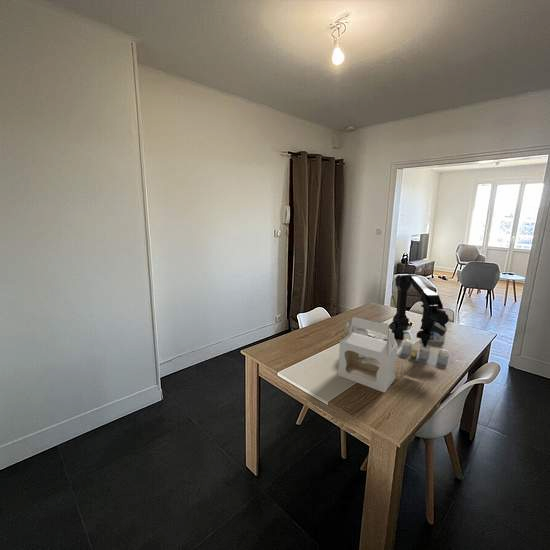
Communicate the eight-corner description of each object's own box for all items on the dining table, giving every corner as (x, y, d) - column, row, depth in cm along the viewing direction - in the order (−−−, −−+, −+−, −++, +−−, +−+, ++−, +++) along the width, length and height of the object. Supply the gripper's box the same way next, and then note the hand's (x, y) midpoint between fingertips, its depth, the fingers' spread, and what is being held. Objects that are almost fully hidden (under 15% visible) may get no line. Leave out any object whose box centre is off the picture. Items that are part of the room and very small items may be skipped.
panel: (396, 357, 156) (397, 348, 155) (402, 348, 166) (403, 340, 165) (448, 371, 142) (449, 362, 141) (451, 361, 152) (453, 352, 151)
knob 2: (436, 361, 148) (438, 351, 147) (438, 358, 152) (439, 348, 150) (446, 364, 146) (448, 353, 144) (448, 361, 149) (449, 350, 148)
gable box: (395, 380, 135) (400, 322, 129) (385, 393, 124) (391, 331, 119) (349, 364, 148) (352, 311, 143) (337, 375, 138) (340, 318, 132)
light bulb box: (424, 339, 178) (426, 323, 176) (423, 335, 184) (425, 319, 182) (444, 342, 174) (447, 325, 172) (443, 338, 180) (445, 321, 178)
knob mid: (418, 356, 153) (419, 346, 152) (420, 353, 157) (421, 343, 156) (427, 359, 151) (429, 349, 150) (429, 356, 154) (430, 346, 153)
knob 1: (401, 352, 158) (402, 342, 157) (403, 349, 162) (404, 339, 161) (410, 354, 156) (411, 344, 155) (412, 351, 159) (413, 341, 158)
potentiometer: (409, 358, 153) (410, 350, 152) (411, 356, 155) (411, 348, 154) (415, 359, 151) (416, 352, 150) (417, 357, 153) (418, 350, 153)
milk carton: (366, 353, 161) (369, 319, 157) (366, 358, 154) (368, 324, 150) (353, 351, 163) (355, 318, 159) (352, 356, 156) (354, 322, 152)
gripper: (443, 326, 137) (439, 357, 141) (449, 316, 152) (445, 344, 155) (417, 321, 144) (414, 351, 147) (425, 311, 159) (422, 338, 162)
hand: (425, 346), depth 153 cm, fingers closed, pressing on knob mid
